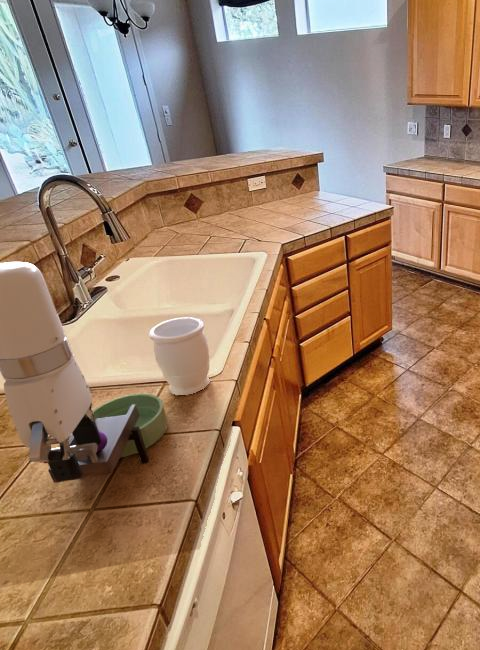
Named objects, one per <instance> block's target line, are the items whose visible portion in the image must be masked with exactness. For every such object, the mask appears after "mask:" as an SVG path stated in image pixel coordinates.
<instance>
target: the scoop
mask: <svg viewBox="0 0 480 650" xmlns="http://www.w3.org/2000/svg"><path fill="white" fill-rule="evenodd" d="M91 411H92V412H93V409H91ZM138 418H139V413H138V410H137V407H136V405H131V407H130V408H129V410H128V412H127V414H126V415H122V416H114V417H106V418H98V419H94V421H92V422H95V424H96V426H97V429H98V431H101V432H103V433H104V434H105V435H106V437H107V444H106V446H105V448H104V449H103V450H102V451H100V452H98V453H96V452H97V444H96V443H90V444H82V445H77V443H76V441H75V438H74V436H73V434H71V436H70V437H69V447H70V454H75V456H76V458H77V460H78V463H79V465H80V467H81V469H82V472H83V475H82V477H81V478H77V479H71V480H65V481H57V480H56V479H55V477H54V475H53V473H52V471H51V469H50V467H49V468H48V469H47V471H48V473H49V475H50V478H51V479H52V482H53V483H54V484H57V483H62V482H68V481H75V480H82V479H88V478H95V477H102V476H108V475H112V474H113V473H114V471H115V468H116V466H117V464H118V462H119V460H120V458H121V457H120V456H121V453H122V451H123V449H124V447H125V445H126V443H127V441H128V439H129V437H130V435H131V430H132V428H133V427H134V426H135V424H136V422H137V420H138ZM51 450H52V451H60V447H53V448H51Z"/></svg>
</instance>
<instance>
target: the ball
mask: <svg viewBox="0 0 480 650" xmlns="http://www.w3.org/2000/svg"><path fill="white" fill-rule="evenodd" d="M99 434H100V436H101V439H102V442H101V443H100V444H99V445H97V452H96V453H98V452H100V451H102V450H103V449H104V448H105V446H106V444H107V437H106V435H105V434H104V433H103V432H101V431H99Z"/></svg>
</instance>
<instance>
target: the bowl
mask: <svg viewBox="0 0 480 650" xmlns="http://www.w3.org/2000/svg"><path fill="white" fill-rule="evenodd" d="M131 405H136V407H137V410H138V413H139V418H138V420H137V422H136V424H135V426H134V427H138V426H139V429H140V432H141V435H142V438H143V441H144V444H145V448H146V449H147V448H150V447H151V446H152V445H154V444H155V443H156V442H158V441H159V440H160V439H161V438H162V437H163V436H164V434H165V433H166V431H167V429H168V426H169V421H168V416H167V412H166V410H165V405H164V401H163V400H162V399H161V398H160V397H159V396H157V395H155V394H151V393H142V392H141V393H140V392H139V393H132V394H126V395H123V396H118V397H116V398H113V399H110V400H108V401H106V402H104V403H102V404H100V405H99V406H97V407H95V408H93V409H92V411H93V413H94V415H95V419H98V418H106V417H114V416H122V415H126V414H127V412H128V410H129V408H130V407H131ZM131 434H132V433H131ZM134 454H138V451H137V448H136V445H135V442H134V440H128V441H127V443H126V445H125V447H124V449H123V451H122V453H121V456H120V458H124V457H125V458H126V457H128V456H129V457H130V456H131V455H134Z"/></svg>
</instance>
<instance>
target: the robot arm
mask: <svg viewBox="0 0 480 650" xmlns="http://www.w3.org/2000/svg"><path fill="white" fill-rule="evenodd" d="M0 374H1V377H2V378H3V380H4V381H5V382H4V383H3V389H4V396H5V400H6V404H7V408H8V411H9V413H10V416H11V419H12V422H13V424H14V427H15V429H16V432H17V434H18V436H19V439H20V441H21V443H22V444H23V446H24V447H25V448H29V451H28V461H29V462H30V463H42V464H48V466H49V468H50V469H51V471H52V473H53V475H54V477H55V479H56V480H57V481H63V482H66V481H65V480H69V481H72V480H71V479H76V480H78V479H77V478H81V477H82V475H83V472H82V469H81V467H80V465H79V463H78V460H77V458H76V456H75V454H70V447H69V439H68V437H69V436H70V435H71V434H73V436H74V438H75V441H76V443H77V445H82V444H90V443H96V444H97V445H99V444H100V443H101V442H102V439H101V436H100V434H99V431H98V429H97V426H96V424H95V422H92V421H94V419H95V415H94V413H93V412H92V411H93V410H92V406H93V402H92V401H93V398H92V388H91V386H89V385H88V382H87V380H86V378H85V376H84V373H83V372H82V369H81V367H80V365H79V364H78V362H77V360H76V358H75V355H74V352H73V350H72V347H71V344H70V342H69V339H68V337H67V335H66V332H65V329H64V326H63V324H62V321H61V320H60V317H59V314H58V311H57V309H56V306H55V303H54V300H53V298H52V296H51V293H50V291H49V288H48V285H47V283H46V280H45V278H44V275H43V273H42V272H41V270H40V269H39V268H38V267H37V266H36V265H34V264H32V263H29V262H26V261H25V262H22V261H10V262H0ZM91 410H92V411H91ZM49 436H50V437H49ZM54 444H55V445H56V444H59V448H60V451H52V450H51V449H52V445H54Z"/></svg>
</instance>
